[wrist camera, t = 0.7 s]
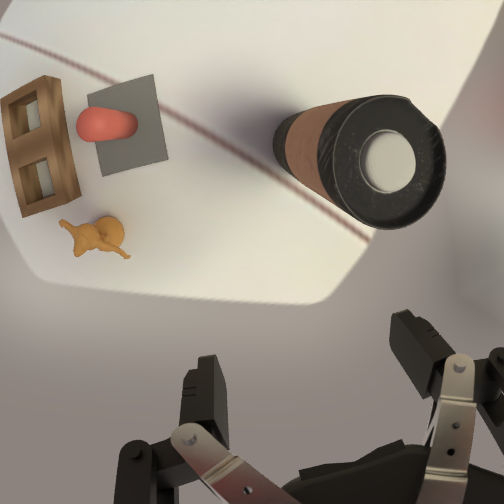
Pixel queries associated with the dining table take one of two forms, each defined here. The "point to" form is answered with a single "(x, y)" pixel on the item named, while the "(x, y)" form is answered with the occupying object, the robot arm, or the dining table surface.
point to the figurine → (97, 236)
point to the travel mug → (367, 158)
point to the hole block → (39, 145)
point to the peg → (105, 124)
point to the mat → (148, 132)
